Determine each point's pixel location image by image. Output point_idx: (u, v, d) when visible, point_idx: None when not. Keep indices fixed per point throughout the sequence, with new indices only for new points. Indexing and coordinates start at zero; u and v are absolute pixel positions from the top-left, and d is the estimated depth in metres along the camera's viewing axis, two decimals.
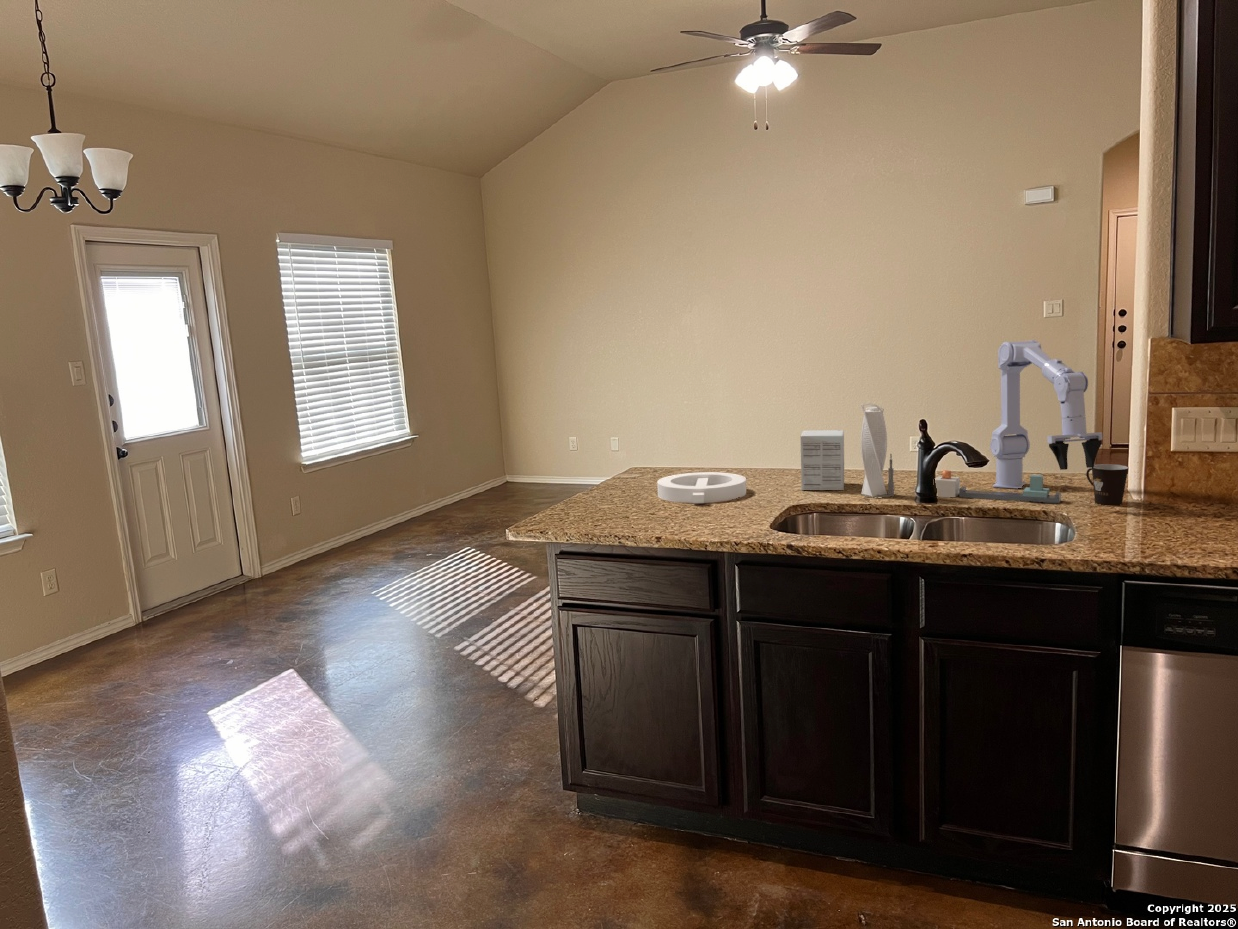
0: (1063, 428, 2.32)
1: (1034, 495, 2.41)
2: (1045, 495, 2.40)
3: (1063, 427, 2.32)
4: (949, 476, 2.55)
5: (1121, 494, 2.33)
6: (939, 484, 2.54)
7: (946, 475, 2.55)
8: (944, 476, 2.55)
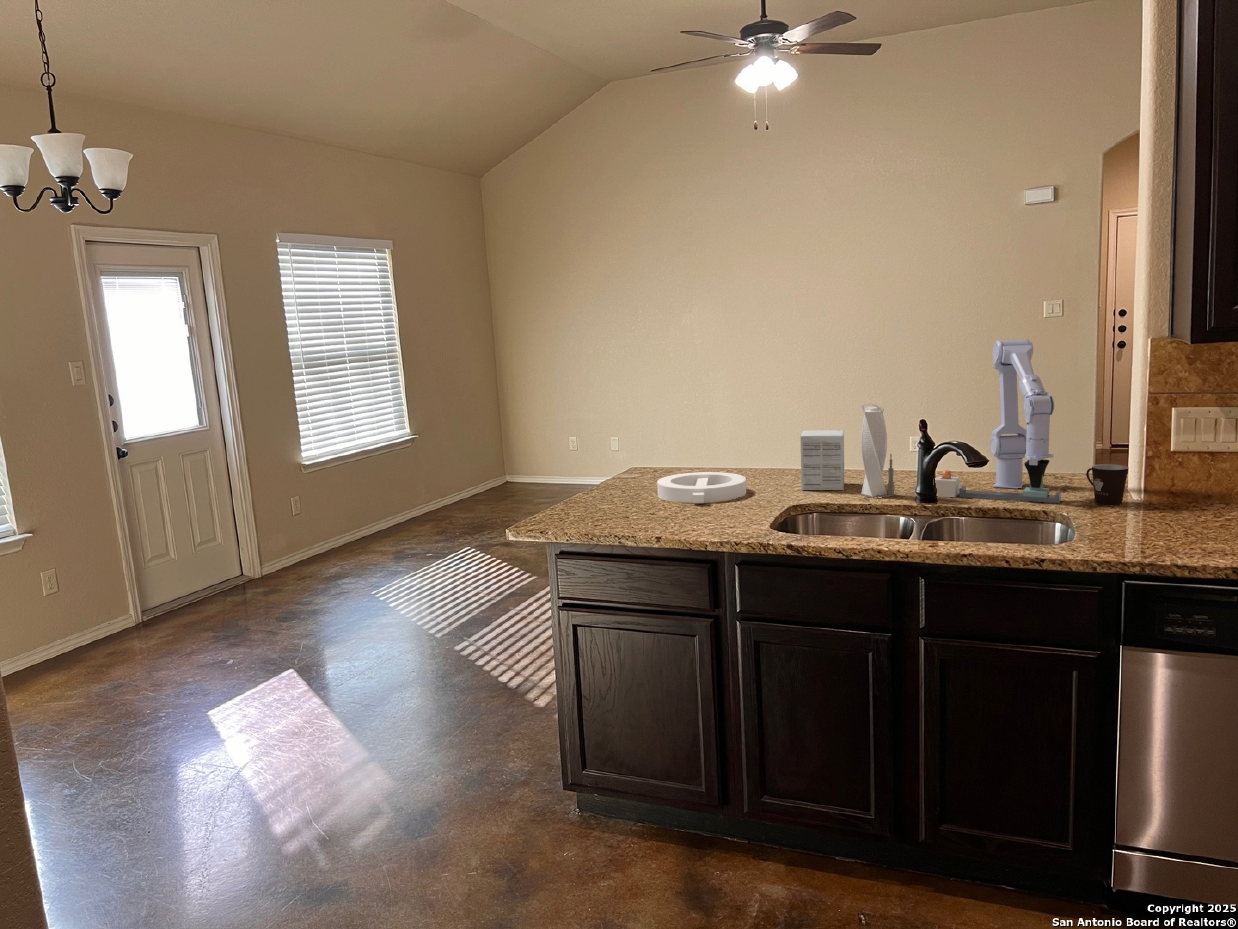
0: (1034, 449, 2.39)
1: (1034, 495, 2.41)
2: (1045, 495, 2.40)
3: (1034, 448, 2.39)
4: (949, 476, 2.55)
5: (1121, 494, 2.33)
6: (939, 484, 2.54)
7: (946, 475, 2.55)
8: (944, 476, 2.55)
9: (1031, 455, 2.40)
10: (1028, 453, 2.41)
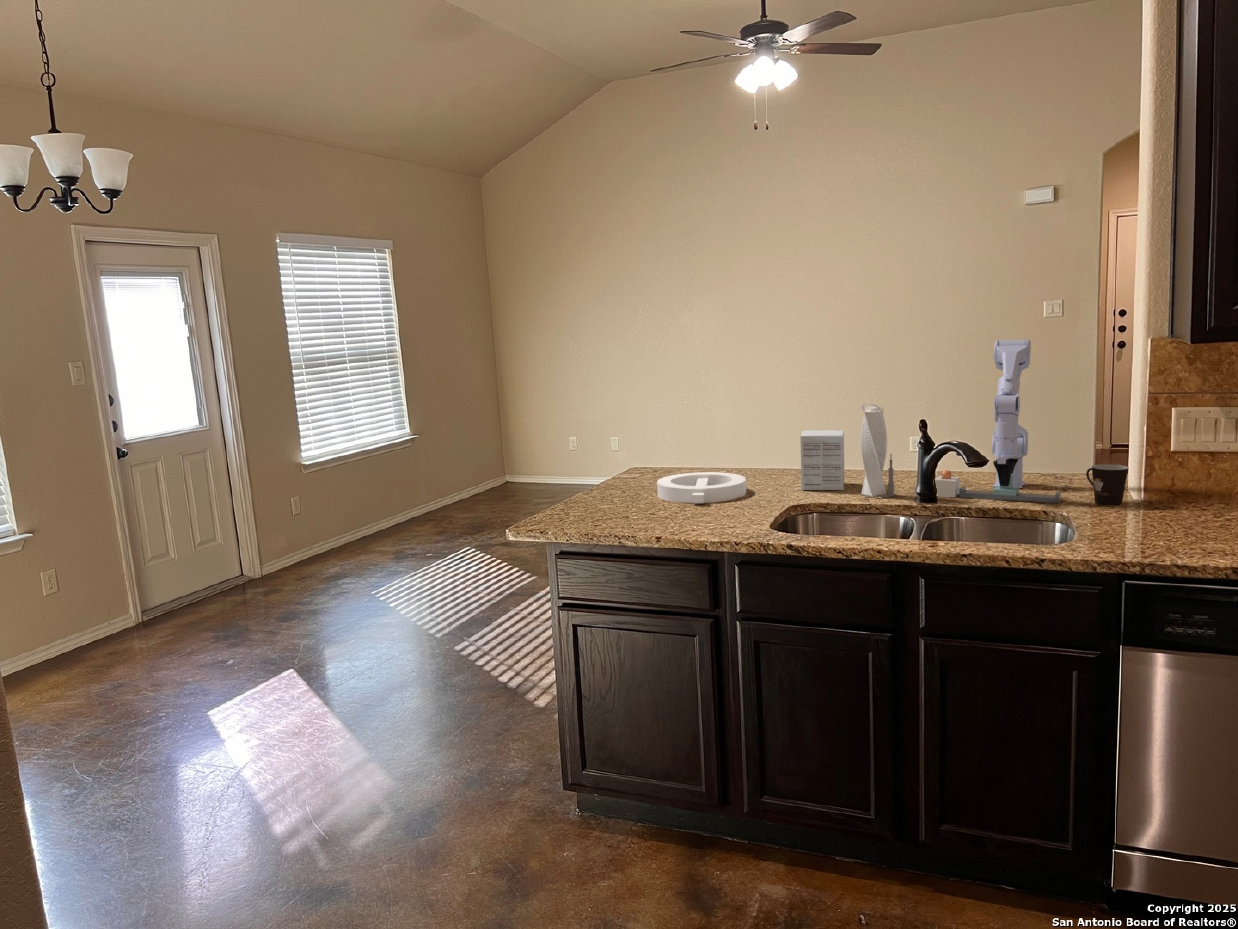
0: (1002, 448, 2.44)
1: (1004, 493, 2.45)
2: (1014, 493, 2.44)
3: (1003, 447, 2.44)
4: (949, 476, 2.55)
5: (1121, 494, 2.33)
6: (939, 484, 2.54)
7: (946, 475, 2.55)
8: (944, 476, 2.55)
9: (1000, 454, 2.44)
10: (997, 452, 2.45)
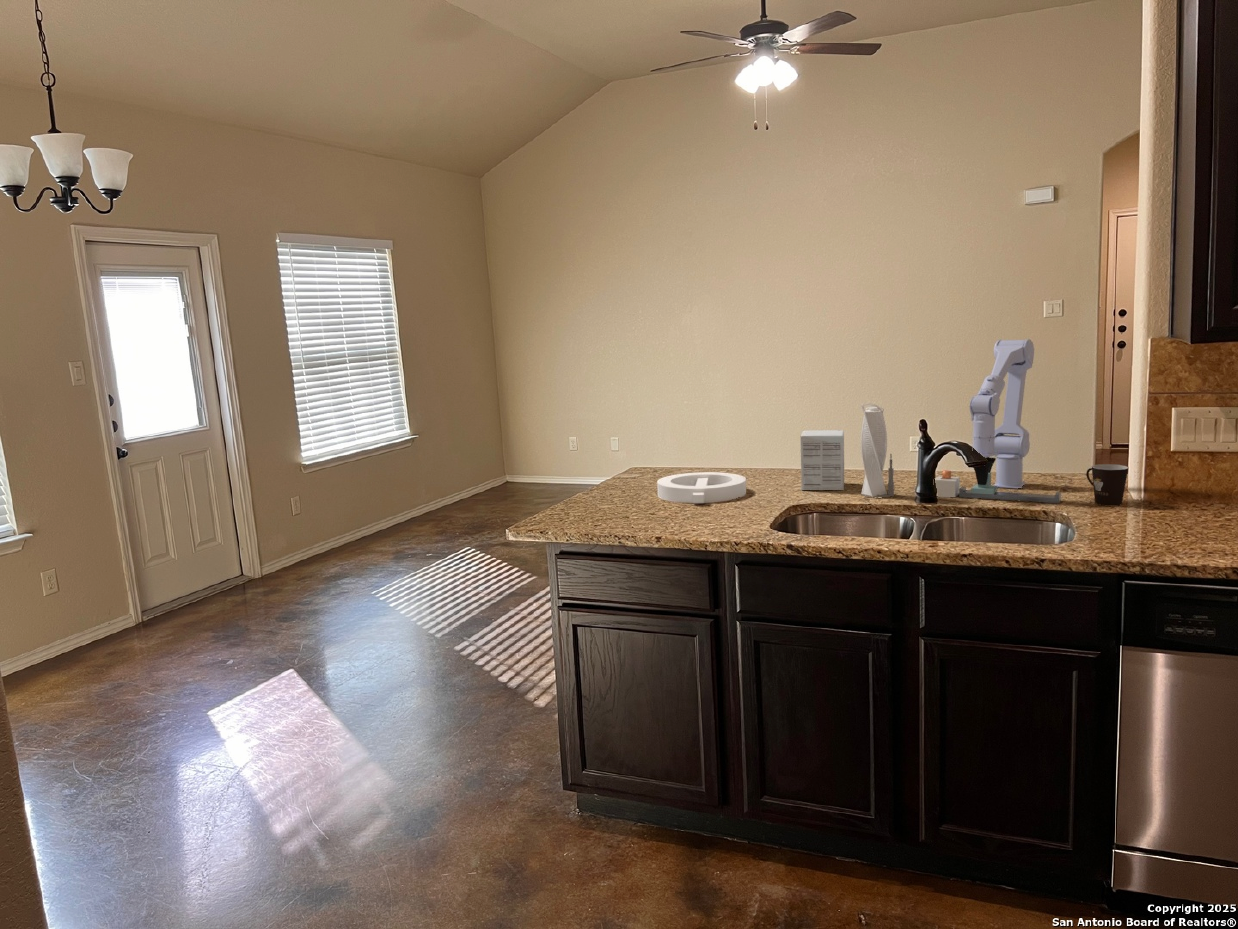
0: (980, 447, 2.47)
1: (982, 492, 2.48)
2: (992, 492, 2.47)
3: (980, 446, 2.47)
4: (949, 476, 2.55)
5: (1121, 494, 2.33)
6: (939, 484, 2.54)
7: (946, 475, 2.55)
8: (944, 476, 2.55)
9: None
10: None
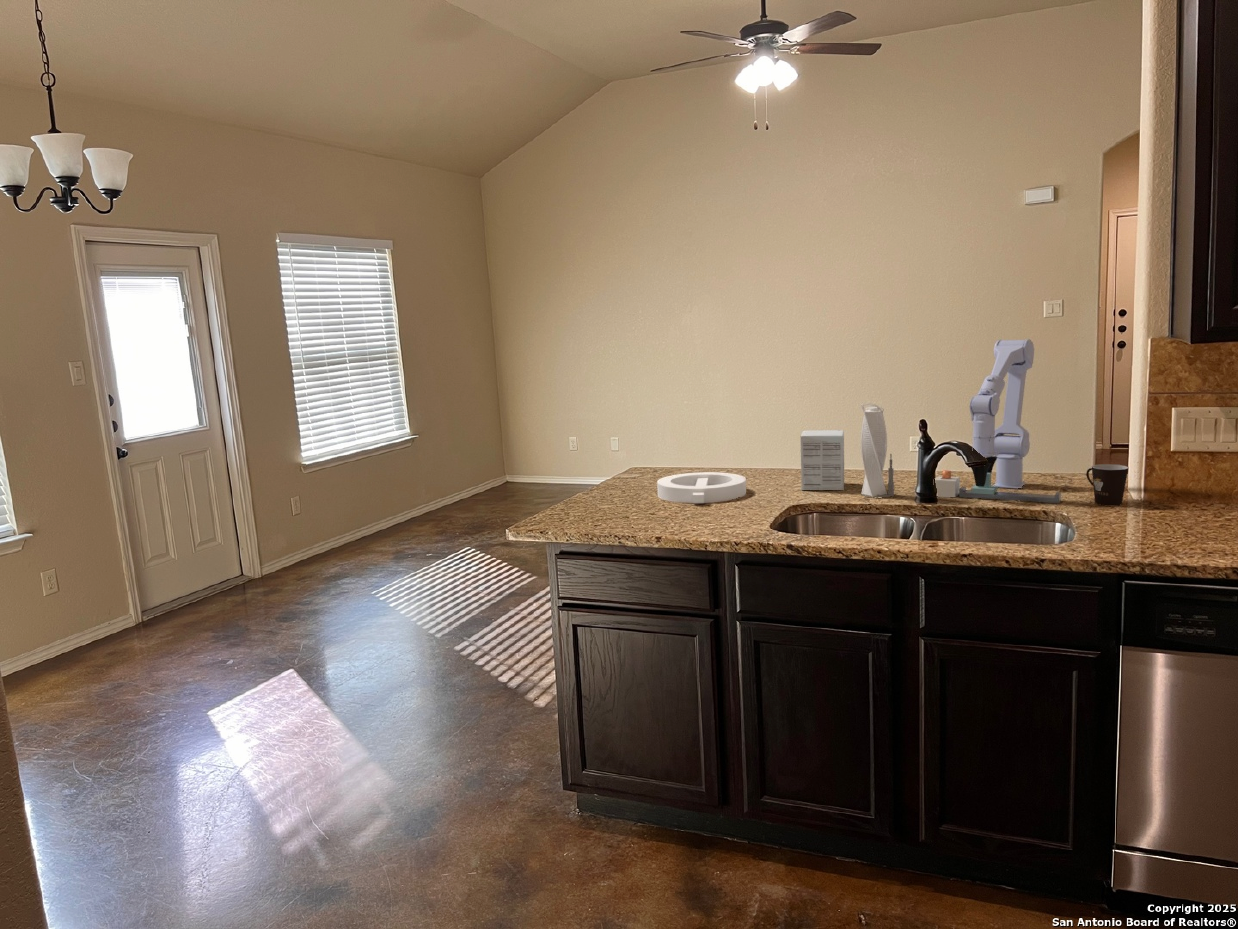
0: (980, 447, 2.47)
1: (982, 492, 2.48)
2: (992, 492, 2.47)
3: (980, 446, 2.47)
4: (949, 476, 2.55)
5: (1121, 494, 2.33)
6: (939, 484, 2.54)
7: (946, 475, 2.55)
8: (944, 476, 2.55)
9: None
10: None
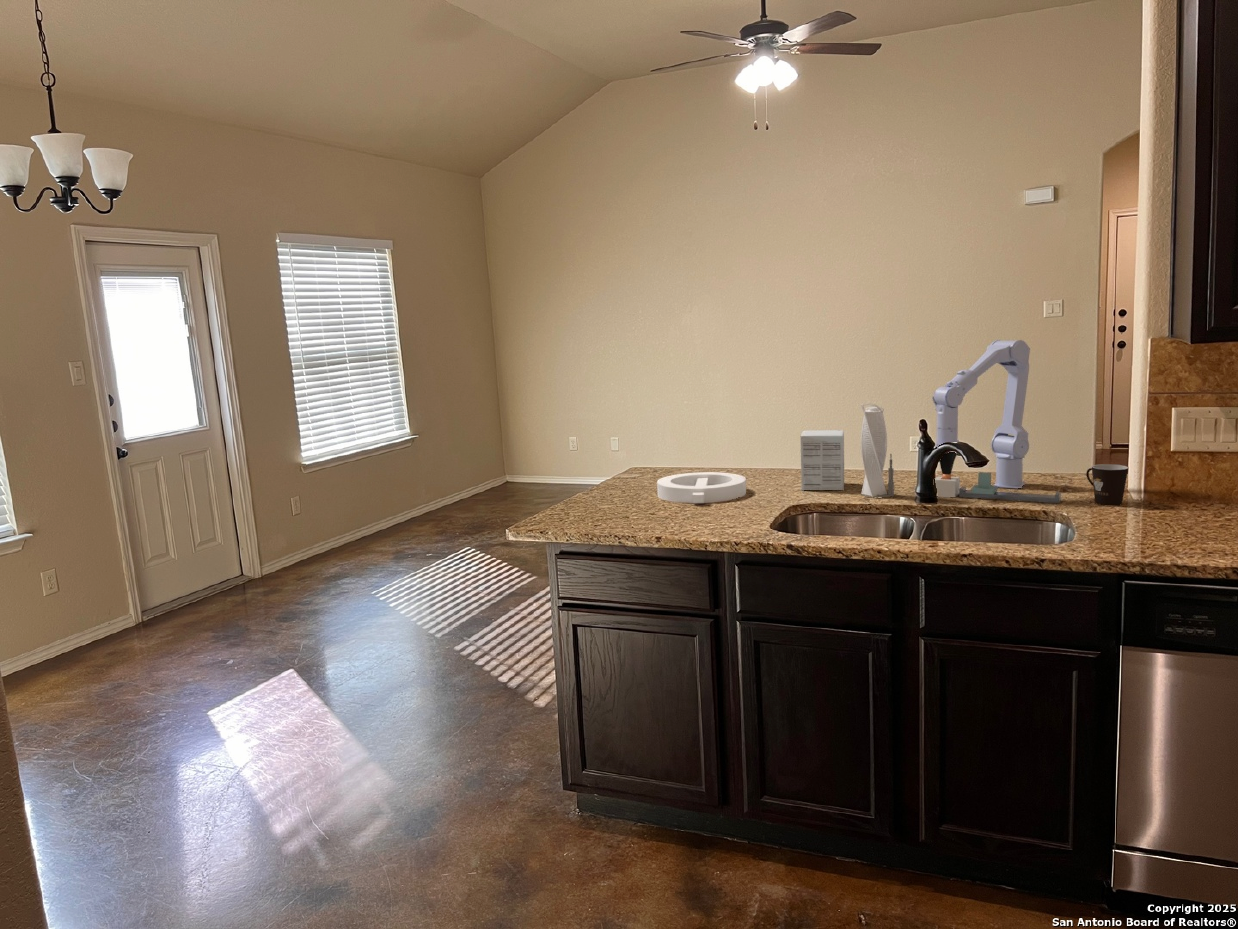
0: (942, 438, 2.52)
1: (982, 492, 2.48)
2: (992, 492, 2.47)
3: (942, 437, 2.52)
4: (949, 479, 2.55)
5: (1121, 494, 2.33)
6: (939, 484, 2.54)
7: (946, 478, 2.55)
8: None
9: (940, 444, 2.53)
10: (937, 442, 2.54)
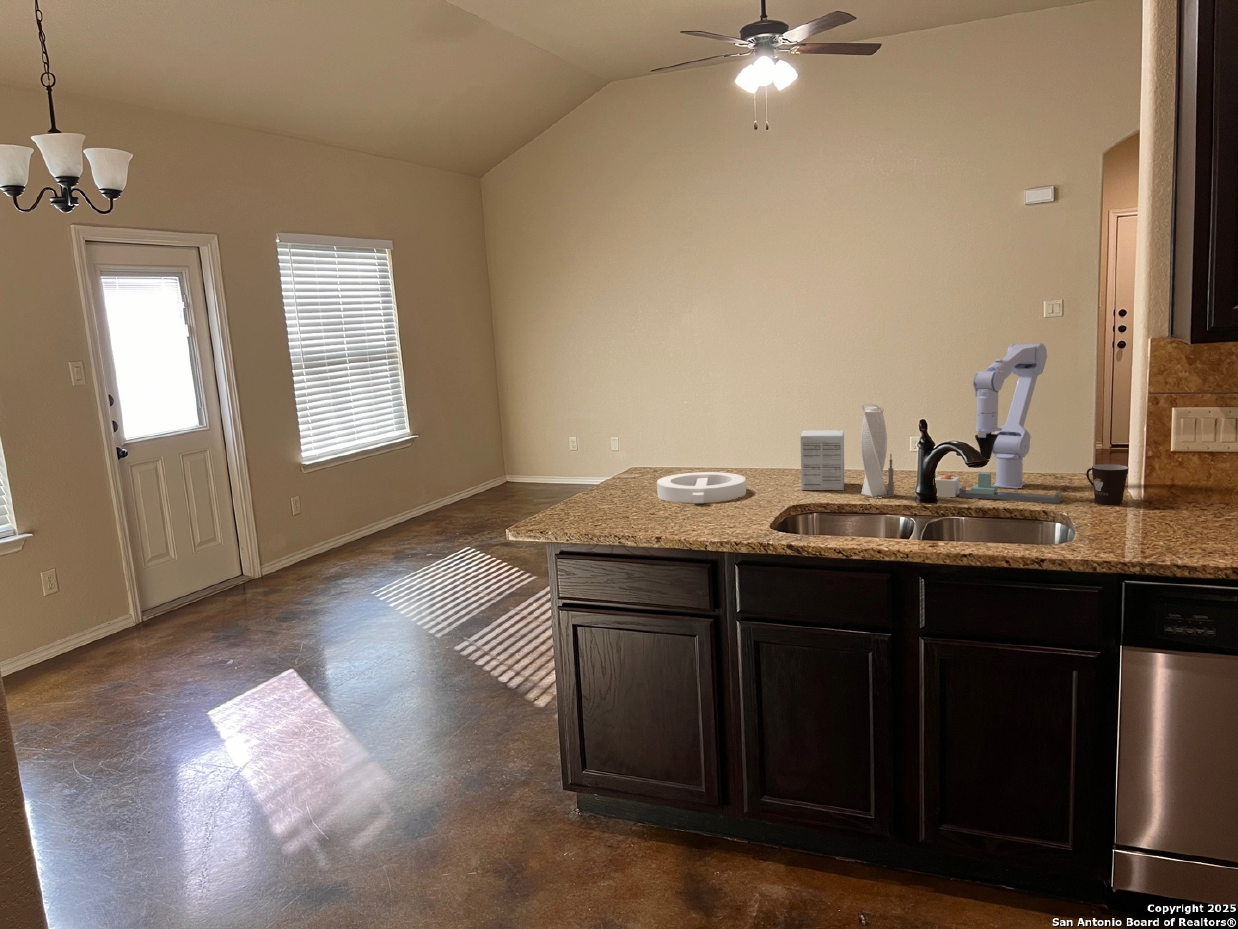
0: (983, 423, 2.50)
1: (982, 492, 2.48)
2: (992, 492, 2.47)
3: (983, 422, 2.50)
4: None
5: (1121, 494, 2.33)
6: (939, 484, 2.54)
7: None
8: None
9: (980, 428, 2.51)
10: (978, 427, 2.52)
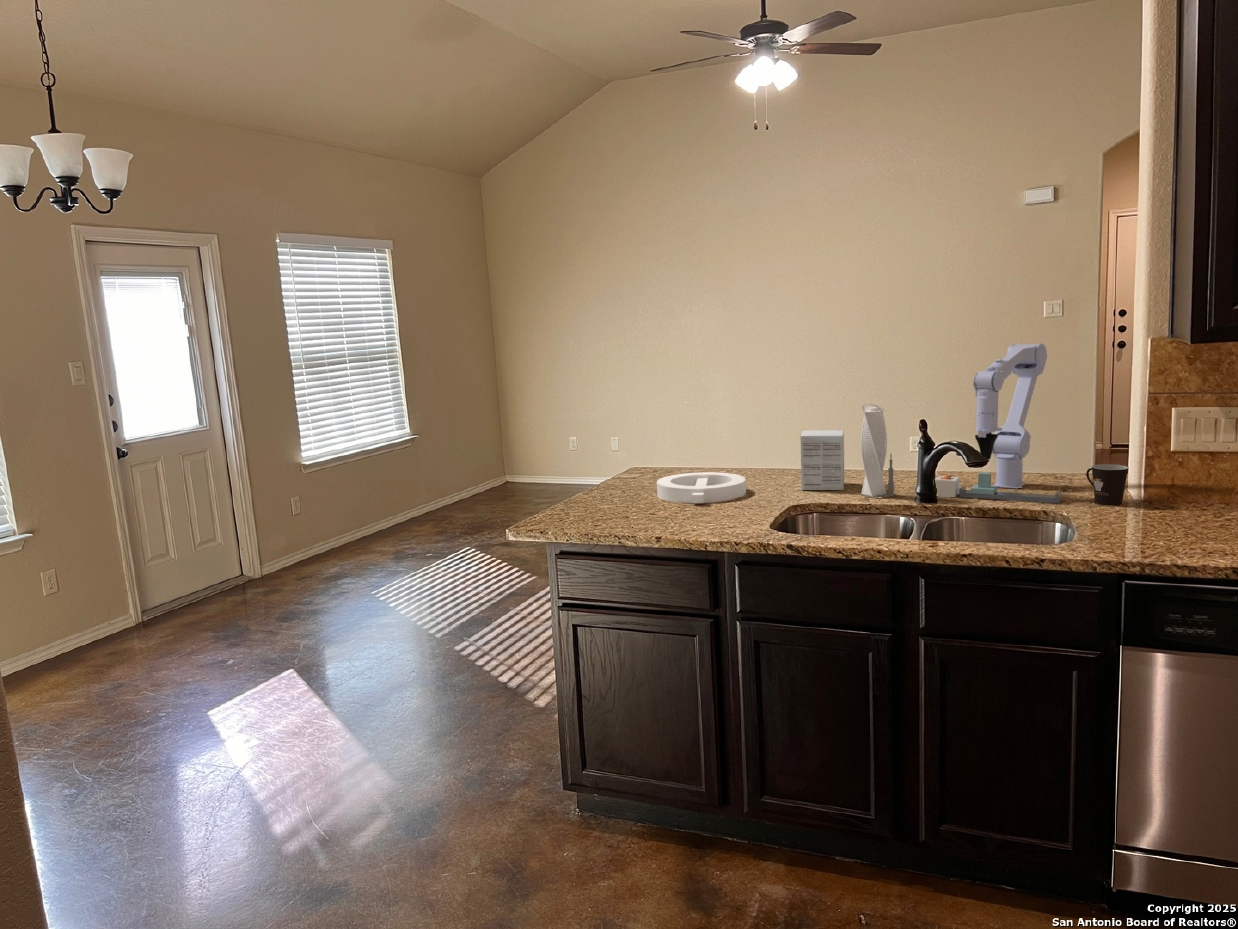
0: (983, 422, 2.50)
1: (982, 492, 2.48)
2: (992, 492, 2.47)
3: (983, 422, 2.50)
4: None
5: (1121, 494, 2.33)
6: (939, 484, 2.54)
7: None
8: None
9: (980, 428, 2.51)
10: (978, 426, 2.52)
